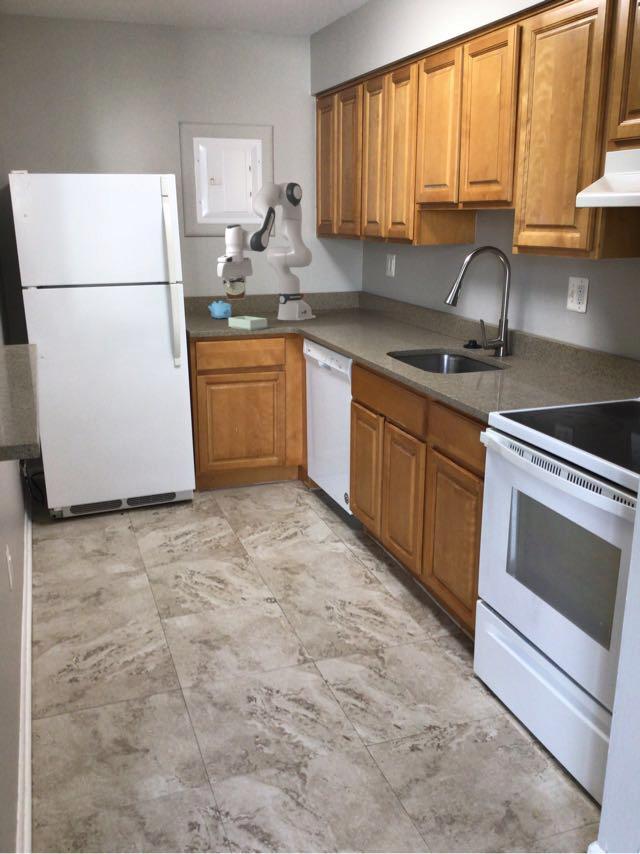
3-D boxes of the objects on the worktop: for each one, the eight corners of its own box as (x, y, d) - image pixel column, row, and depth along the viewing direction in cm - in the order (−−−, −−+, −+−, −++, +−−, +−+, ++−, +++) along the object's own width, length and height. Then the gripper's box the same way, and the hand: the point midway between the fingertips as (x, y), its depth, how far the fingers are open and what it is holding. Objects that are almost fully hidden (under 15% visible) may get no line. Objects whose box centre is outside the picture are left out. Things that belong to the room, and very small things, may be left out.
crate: (245, 325, 398) (245, 315, 397) (267, 328, 387) (266, 318, 386) (228, 327, 391) (228, 317, 390) (250, 330, 379) (250, 320, 378)
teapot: (238, 320, 421) (238, 301, 418) (215, 321, 414) (214, 303, 411) (224, 316, 436) (223, 298, 433) (201, 318, 428) (200, 300, 426)
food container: (251, 295, 391) (248, 276, 388) (248, 298, 386) (245, 278, 382) (228, 297, 394) (225, 277, 390) (224, 300, 388) (221, 280, 385)
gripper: (246, 256, 392) (247, 284, 396) (214, 258, 378) (216, 287, 382) (254, 257, 388) (255, 285, 391) (222, 259, 374) (223, 287, 378)
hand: (235, 286), depth 387 cm, fingers closed on food container, 7 cm apart
